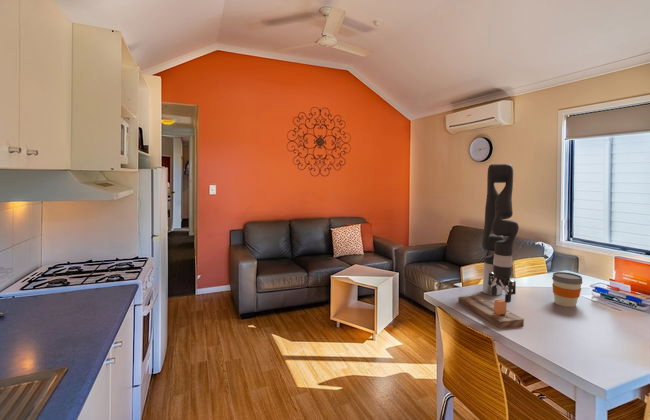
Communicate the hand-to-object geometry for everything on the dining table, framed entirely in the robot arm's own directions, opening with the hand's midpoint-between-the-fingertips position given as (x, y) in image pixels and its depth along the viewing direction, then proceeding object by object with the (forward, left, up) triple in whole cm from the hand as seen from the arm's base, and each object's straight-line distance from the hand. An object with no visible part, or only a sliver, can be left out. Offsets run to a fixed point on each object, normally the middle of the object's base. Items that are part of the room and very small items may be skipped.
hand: (500, 298), depth 153 cm
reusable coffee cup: (-47, -9, -10) cm, 49 cm away
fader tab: (0, 0, -7) cm, 7 cm away
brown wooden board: (0, -7, -10) cm, 12 cm away
